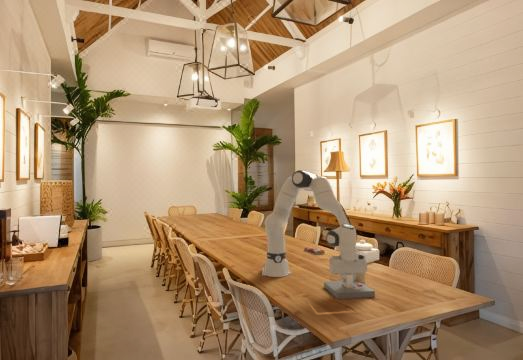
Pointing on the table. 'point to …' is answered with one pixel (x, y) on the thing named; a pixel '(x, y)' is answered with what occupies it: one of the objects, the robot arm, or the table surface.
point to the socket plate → (349, 290)
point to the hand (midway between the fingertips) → (348, 281)
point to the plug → (348, 280)
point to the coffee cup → (360, 277)
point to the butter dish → (367, 251)
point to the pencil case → (314, 251)
